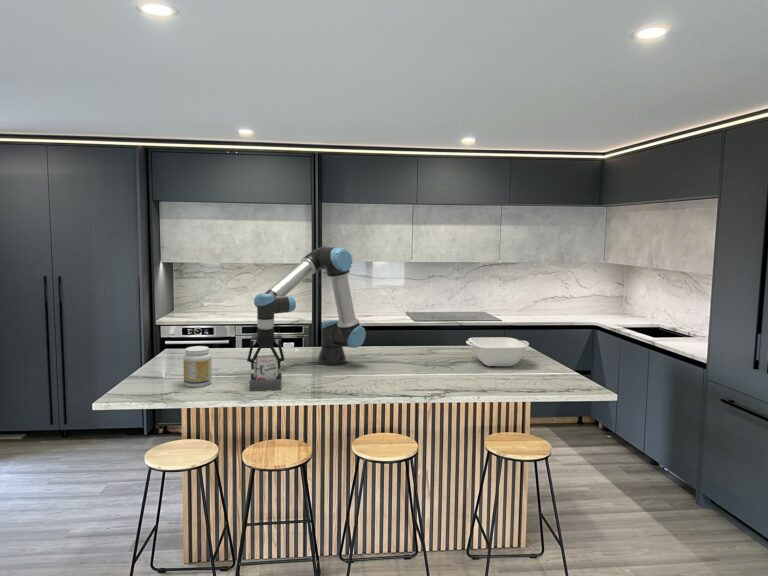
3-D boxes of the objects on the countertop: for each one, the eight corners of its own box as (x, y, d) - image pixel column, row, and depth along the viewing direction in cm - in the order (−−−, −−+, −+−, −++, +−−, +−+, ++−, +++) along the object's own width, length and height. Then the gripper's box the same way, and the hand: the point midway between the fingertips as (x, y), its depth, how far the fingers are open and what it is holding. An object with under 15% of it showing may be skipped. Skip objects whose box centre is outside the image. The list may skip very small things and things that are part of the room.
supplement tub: (189, 380, 271) (189, 345, 269) (215, 381, 271) (214, 345, 269) (179, 387, 259) (179, 350, 257) (206, 388, 258) (205, 351, 257)
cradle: (281, 381, 271) (281, 372, 271) (281, 390, 257) (281, 380, 257) (251, 382, 269) (251, 373, 268) (249, 391, 255) (249, 381, 255)
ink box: (258, 384, 259) (258, 358, 257) (255, 381, 263) (255, 356, 262) (276, 382, 263) (276, 356, 261) (273, 379, 267) (273, 354, 266)
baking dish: (473, 370, 300) (473, 346, 299) (460, 358, 328) (460, 336, 327) (535, 370, 304) (537, 346, 302) (517, 358, 332) (518, 336, 331)
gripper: (290, 326, 266) (290, 373, 268) (241, 326, 262) (241, 374, 264) (290, 329, 259) (290, 377, 261) (240, 329, 255) (240, 378, 257)
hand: (265, 376), depth 263 cm, fingers closed on ink box, 9 cm apart
